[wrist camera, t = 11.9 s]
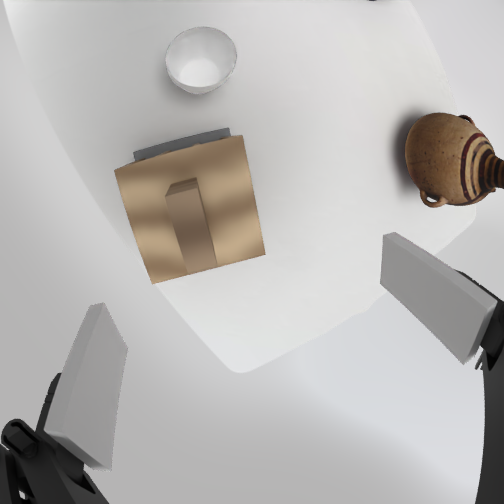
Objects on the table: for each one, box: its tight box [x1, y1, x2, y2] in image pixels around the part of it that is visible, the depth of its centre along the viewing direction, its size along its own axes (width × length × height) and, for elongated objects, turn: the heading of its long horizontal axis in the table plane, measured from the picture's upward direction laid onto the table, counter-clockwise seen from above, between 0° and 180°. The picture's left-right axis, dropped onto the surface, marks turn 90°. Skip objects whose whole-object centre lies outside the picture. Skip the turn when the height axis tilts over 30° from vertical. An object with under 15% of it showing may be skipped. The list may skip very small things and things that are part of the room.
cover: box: [114, 135, 266, 284], centre depth 35 cm, size 15×15×22 cm
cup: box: [166, 27, 237, 94], centre depth 32 cm, size 9×9×12 cm
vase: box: [405, 113, 504, 208], centre depth 37 cm, size 21×18×30 cm
